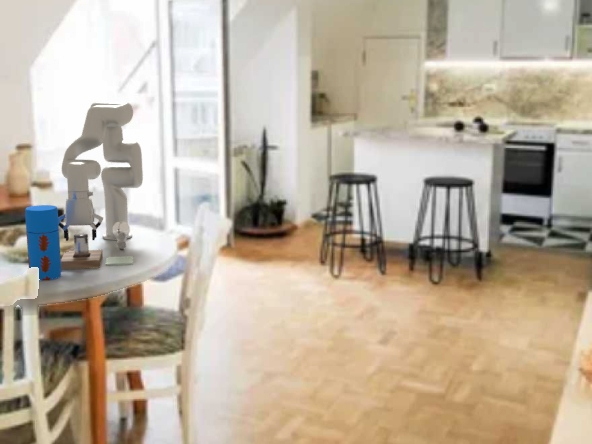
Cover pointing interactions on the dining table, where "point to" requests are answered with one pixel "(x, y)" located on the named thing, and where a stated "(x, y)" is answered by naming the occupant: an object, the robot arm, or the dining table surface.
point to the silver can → (81, 245)
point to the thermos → (43, 240)
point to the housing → (81, 260)
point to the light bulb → (121, 233)
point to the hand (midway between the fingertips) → (80, 239)
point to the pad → (119, 260)
